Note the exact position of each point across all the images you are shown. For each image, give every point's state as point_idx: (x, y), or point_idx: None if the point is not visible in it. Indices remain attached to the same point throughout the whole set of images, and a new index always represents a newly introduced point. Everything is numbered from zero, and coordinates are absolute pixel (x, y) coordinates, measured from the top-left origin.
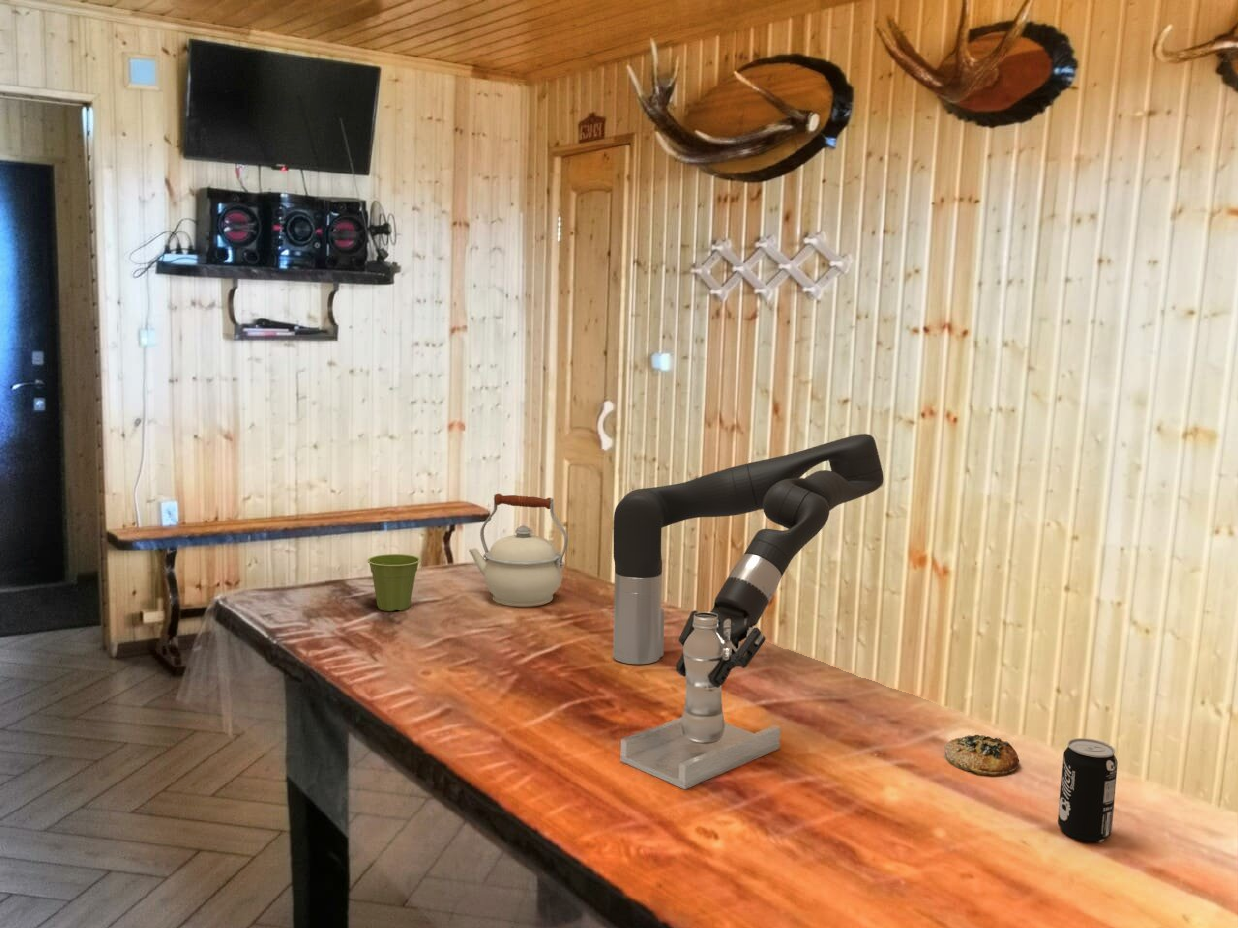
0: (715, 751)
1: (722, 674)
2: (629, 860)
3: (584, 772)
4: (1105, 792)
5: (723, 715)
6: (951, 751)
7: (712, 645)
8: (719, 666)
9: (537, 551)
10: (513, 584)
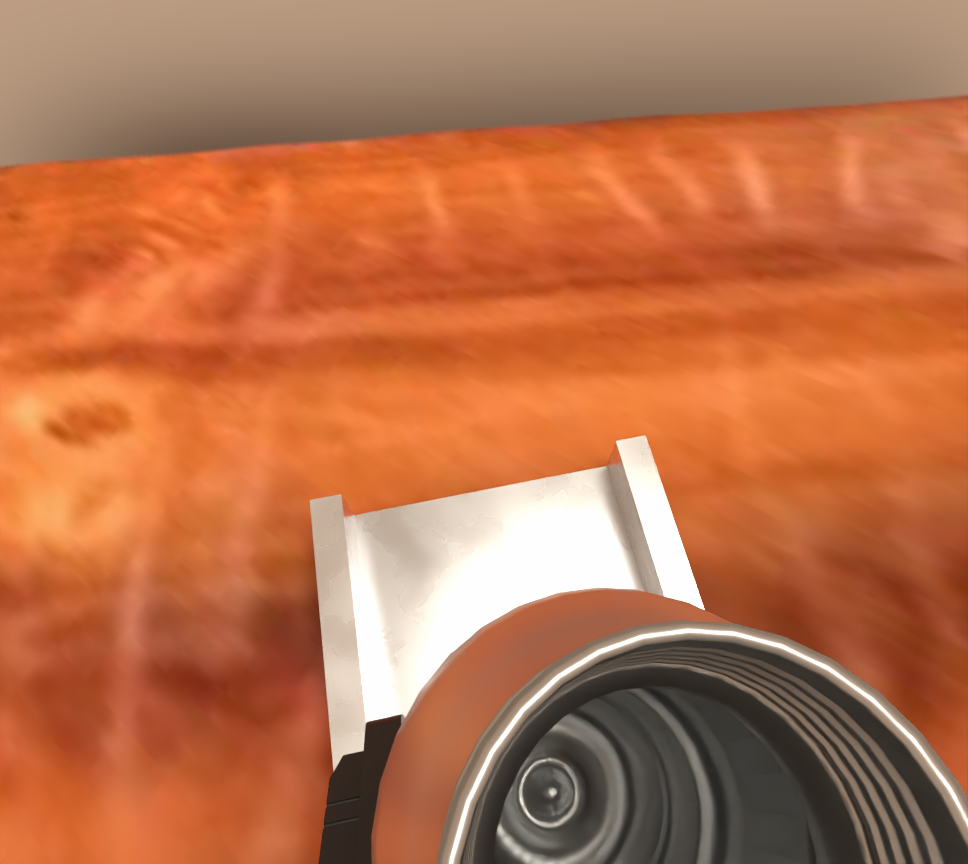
0: (344, 696)
1: (329, 816)
2: (134, 216)
3: (602, 340)
4: None
5: None
6: None
7: (404, 784)
8: (367, 826)
9: None
10: None
